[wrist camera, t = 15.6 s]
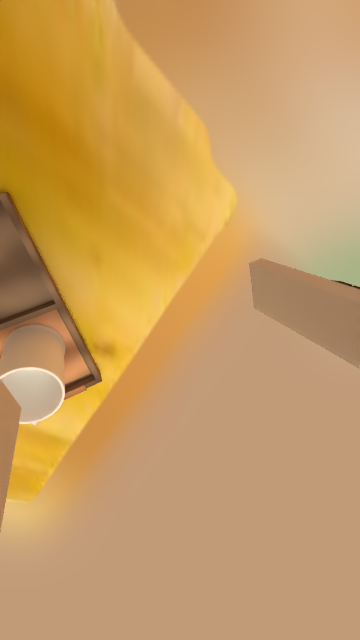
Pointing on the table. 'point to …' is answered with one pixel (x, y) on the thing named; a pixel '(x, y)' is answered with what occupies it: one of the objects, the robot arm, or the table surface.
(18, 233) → the rack
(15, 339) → the mug
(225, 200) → the table surface
